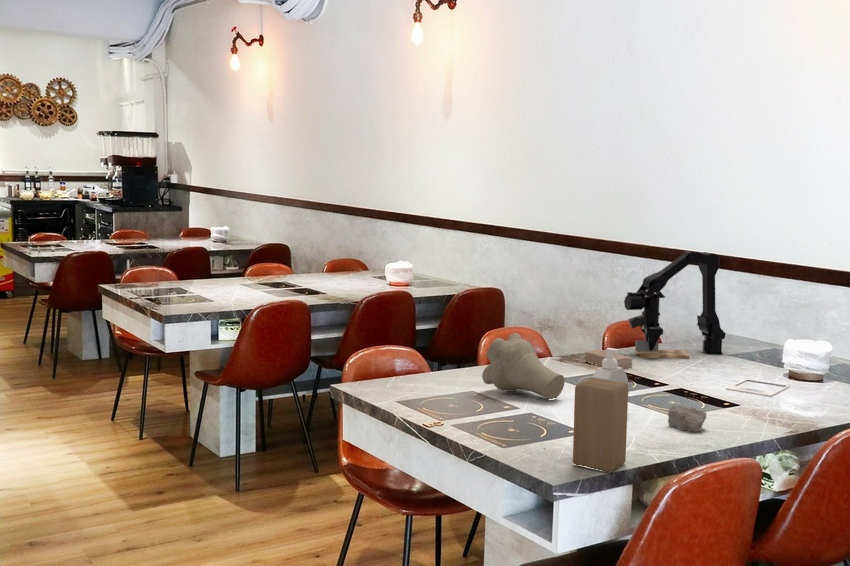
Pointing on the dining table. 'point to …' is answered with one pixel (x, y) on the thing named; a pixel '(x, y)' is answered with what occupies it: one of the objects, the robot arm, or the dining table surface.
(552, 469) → the dining table surface
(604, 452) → the wooden block
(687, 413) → the stone
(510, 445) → the dining table surface
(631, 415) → the dining table surface
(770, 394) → the photo frame
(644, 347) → the block
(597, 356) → the brick
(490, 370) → the vase
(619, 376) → the soap bottle
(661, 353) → the oak board
